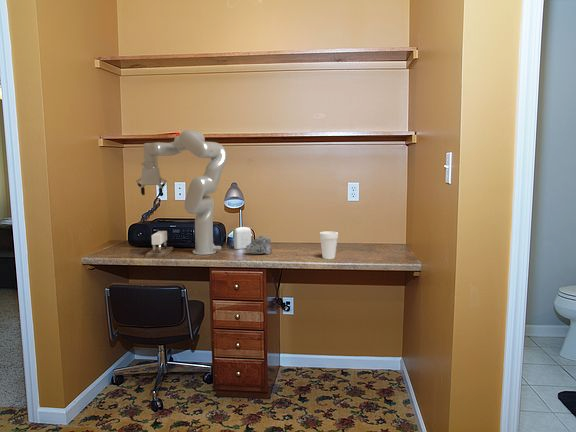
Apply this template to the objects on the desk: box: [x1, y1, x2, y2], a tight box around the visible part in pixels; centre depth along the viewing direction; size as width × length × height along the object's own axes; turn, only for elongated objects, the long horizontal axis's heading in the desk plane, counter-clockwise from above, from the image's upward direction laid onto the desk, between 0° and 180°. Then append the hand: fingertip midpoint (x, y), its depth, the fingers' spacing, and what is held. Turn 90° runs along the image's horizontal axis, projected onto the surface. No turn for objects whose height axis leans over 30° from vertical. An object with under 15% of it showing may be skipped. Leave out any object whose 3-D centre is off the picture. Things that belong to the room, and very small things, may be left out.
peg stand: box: [145, 240, 174, 258], centre depth 242 cm, size 10×20×6 cm, turn 2°
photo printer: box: [233, 226, 252, 250], centre depth 256 cm, size 10×4×12 cm, turn 123°
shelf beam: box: [151, 230, 168, 246], centre depth 242 cm, size 15×4×5 cm, turn 1°
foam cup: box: [319, 230, 339, 260], centre depth 230 cm, size 10×9×13 cm
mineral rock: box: [245, 235, 272, 255], centre depth 241 cm, size 13×11×10 cm
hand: (151, 195), depth 257 cm, fingers open, 9 cm apart
